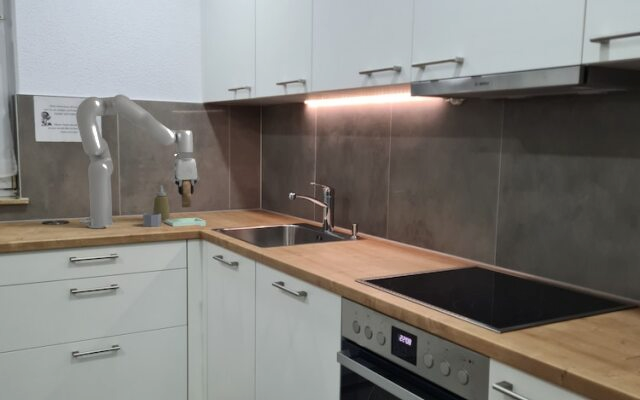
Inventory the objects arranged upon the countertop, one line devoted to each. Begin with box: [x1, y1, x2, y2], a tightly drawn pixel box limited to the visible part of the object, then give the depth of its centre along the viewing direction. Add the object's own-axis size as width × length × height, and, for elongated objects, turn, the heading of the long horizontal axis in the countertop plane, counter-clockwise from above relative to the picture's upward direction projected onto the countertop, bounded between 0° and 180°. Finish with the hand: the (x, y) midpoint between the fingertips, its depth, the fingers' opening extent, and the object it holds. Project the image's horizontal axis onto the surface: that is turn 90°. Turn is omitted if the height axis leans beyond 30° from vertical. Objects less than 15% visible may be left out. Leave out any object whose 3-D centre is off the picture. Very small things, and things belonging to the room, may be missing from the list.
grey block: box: [142, 212, 162, 228], centre depth 271 cm, size 8×8×6 cm
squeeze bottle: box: [152, 185, 171, 221], centre depth 291 cm, size 8×8×18 cm
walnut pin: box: [181, 180, 192, 208], centre depth 278 cm, size 4×4×13 cm
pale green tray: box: [164, 217, 207, 227], centre depth 280 cm, size 16×12×2 cm
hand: (186, 193), depth 278 cm, fingers closed on walnut pin, 4 cm apart
